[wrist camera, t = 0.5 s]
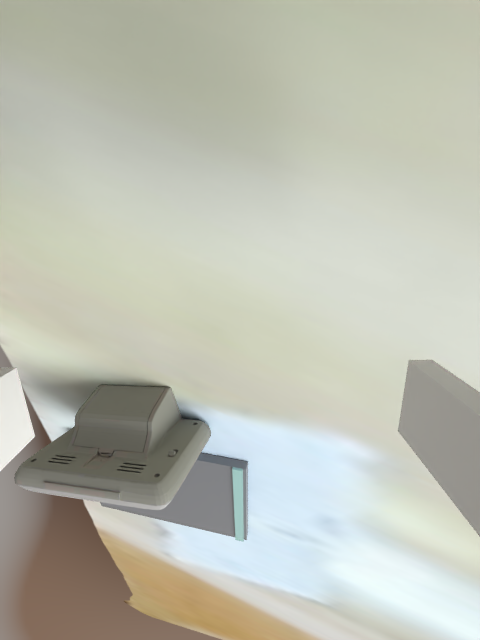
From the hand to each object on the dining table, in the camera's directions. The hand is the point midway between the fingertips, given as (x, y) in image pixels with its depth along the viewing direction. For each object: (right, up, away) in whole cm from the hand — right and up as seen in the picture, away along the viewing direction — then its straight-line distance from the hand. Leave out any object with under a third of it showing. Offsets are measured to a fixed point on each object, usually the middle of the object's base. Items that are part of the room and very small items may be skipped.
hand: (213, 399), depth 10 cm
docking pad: (-10, -21, +32) cm, 40 cm away
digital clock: (-10, -8, +25) cm, 28 cm away
